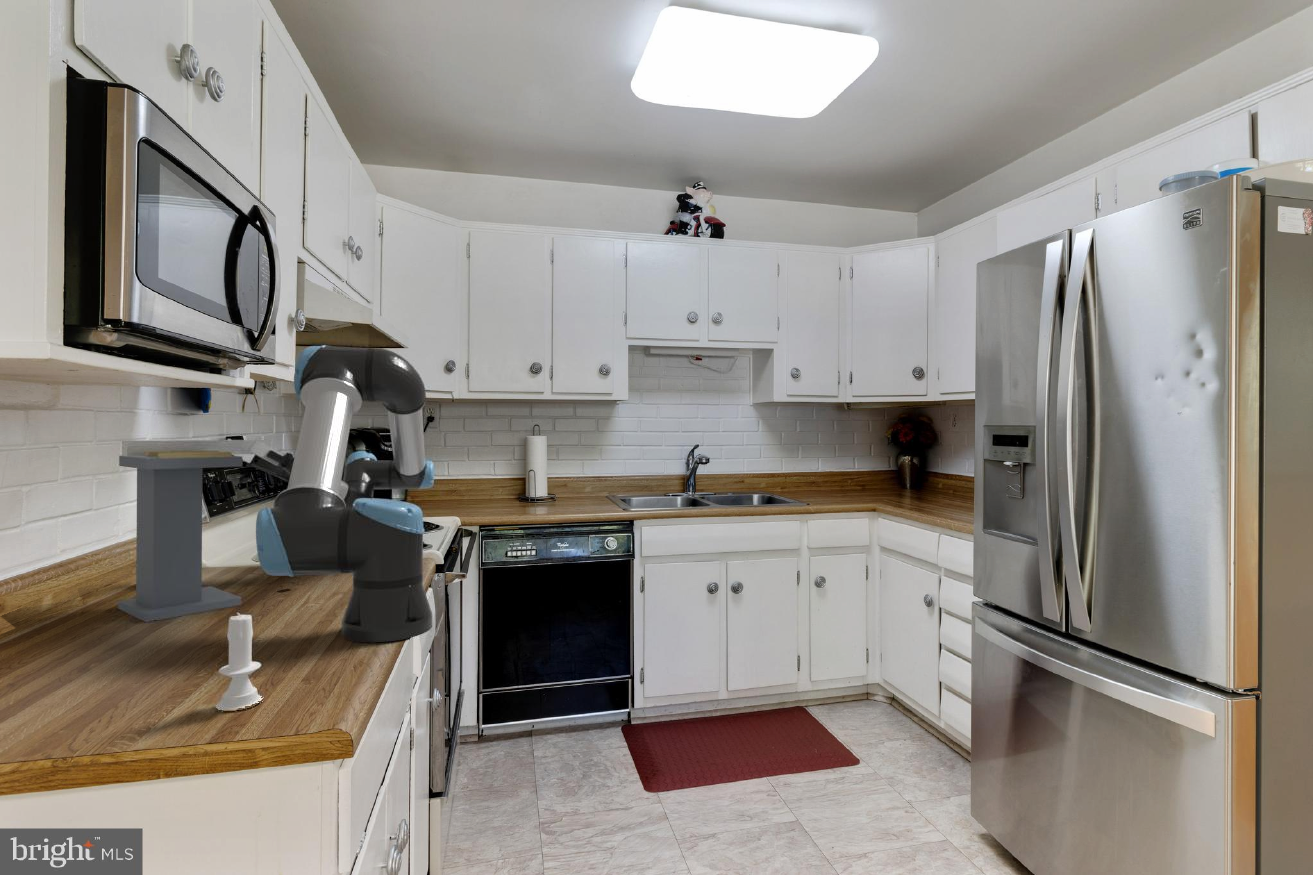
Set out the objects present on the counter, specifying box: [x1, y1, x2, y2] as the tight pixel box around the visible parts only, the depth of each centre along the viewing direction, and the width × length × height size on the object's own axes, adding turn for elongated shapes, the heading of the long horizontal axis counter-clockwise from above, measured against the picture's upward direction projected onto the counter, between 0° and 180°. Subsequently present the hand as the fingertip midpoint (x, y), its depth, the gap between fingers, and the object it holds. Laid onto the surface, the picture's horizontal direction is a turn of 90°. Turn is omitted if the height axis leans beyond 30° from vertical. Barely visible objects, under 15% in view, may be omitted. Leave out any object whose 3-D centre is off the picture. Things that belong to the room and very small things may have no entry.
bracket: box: [146, 451, 233, 458], centre depth 130 cm, size 12×7×1 cm, turn 144°
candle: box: [215, 612, 264, 711], centre depth 87 cm, size 5×5×12 cm
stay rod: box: [121, 439, 271, 457], centre depth 139 cm, size 26×3×3 cm, turn 144°
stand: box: [117, 455, 243, 623], centre depth 133 cm, size 16×15×30 cm
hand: (238, 444), depth 145 cm, fingers open, 13 cm apart
